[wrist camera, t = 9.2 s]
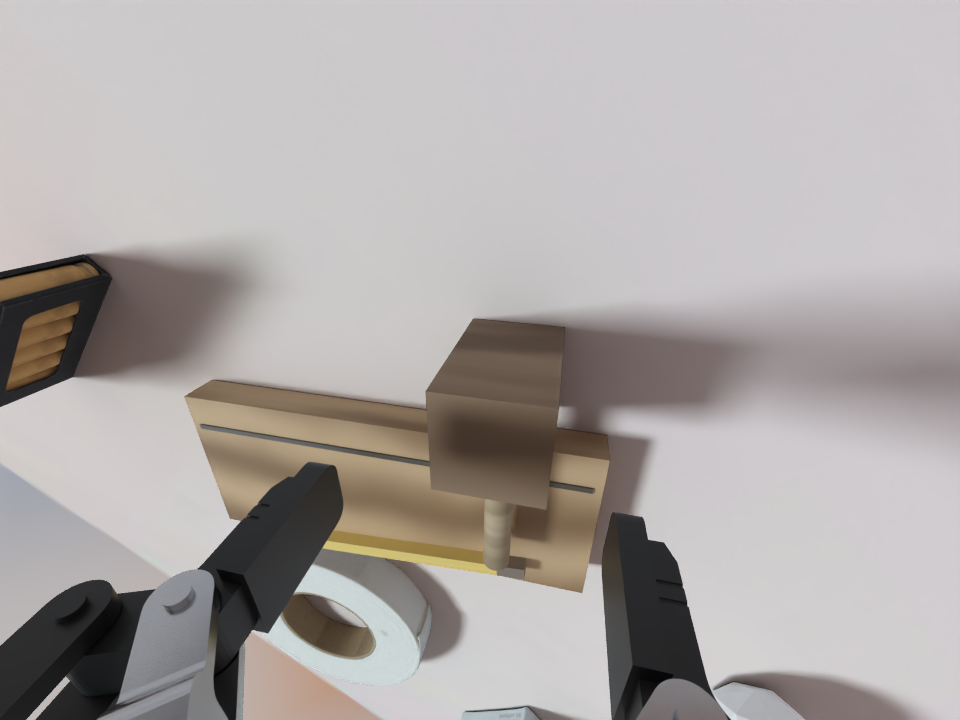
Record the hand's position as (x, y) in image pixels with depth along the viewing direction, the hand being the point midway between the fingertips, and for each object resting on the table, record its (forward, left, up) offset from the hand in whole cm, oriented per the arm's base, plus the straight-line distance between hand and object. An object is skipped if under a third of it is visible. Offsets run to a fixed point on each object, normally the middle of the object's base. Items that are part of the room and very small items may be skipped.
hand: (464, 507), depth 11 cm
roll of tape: (+24, -13, -10) cm, 29 cm away
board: (+9, -7, -10) cm, 15 cm away
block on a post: (+4, 0, -10) cm, 11 cm away
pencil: (+13, -6, -8) cm, 16 cm away
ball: (+24, +17, -10) cm, 31 cm away
